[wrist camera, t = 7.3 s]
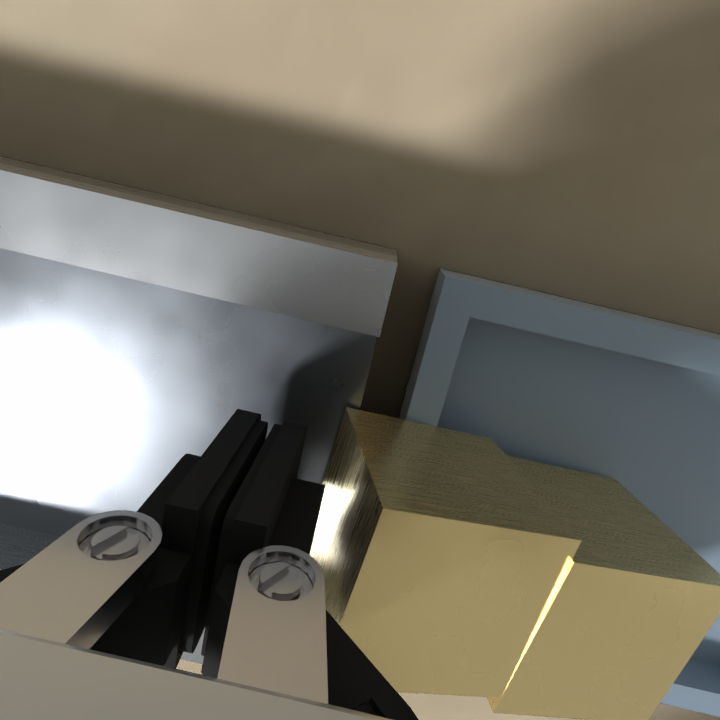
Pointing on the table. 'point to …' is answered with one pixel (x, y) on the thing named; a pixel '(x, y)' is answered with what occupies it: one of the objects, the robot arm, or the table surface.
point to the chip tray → (585, 409)
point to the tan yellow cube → (611, 607)
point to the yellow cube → (435, 554)
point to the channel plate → (161, 342)
